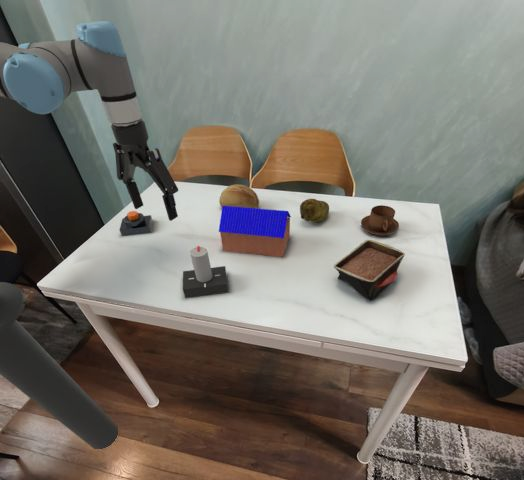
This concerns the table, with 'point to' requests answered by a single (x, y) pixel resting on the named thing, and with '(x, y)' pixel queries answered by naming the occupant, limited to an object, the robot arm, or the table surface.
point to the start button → (133, 215)
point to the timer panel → (205, 283)
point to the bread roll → (239, 197)
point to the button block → (136, 225)
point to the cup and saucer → (380, 221)
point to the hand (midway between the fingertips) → (156, 212)
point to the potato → (314, 210)
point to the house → (254, 230)
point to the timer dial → (201, 264)
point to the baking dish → (370, 268)
